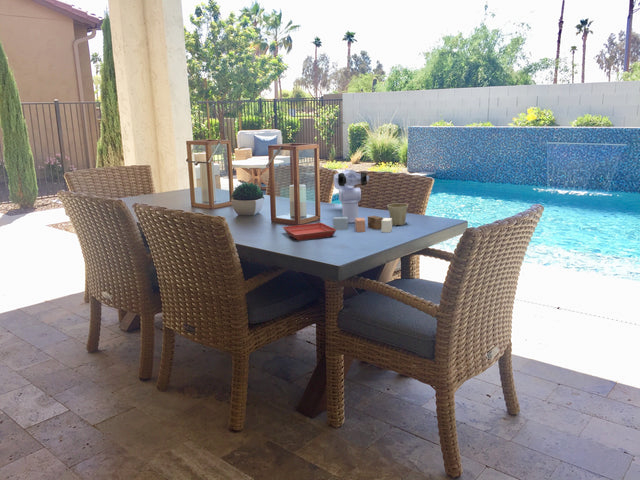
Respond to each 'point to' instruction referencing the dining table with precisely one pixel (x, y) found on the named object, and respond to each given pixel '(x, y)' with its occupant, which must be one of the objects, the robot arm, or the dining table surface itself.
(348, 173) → the robot arm
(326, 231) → the plant saucer
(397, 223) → the flower pot
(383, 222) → the cream brick
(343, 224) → the slate-blue brick
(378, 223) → the walnut brick
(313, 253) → the dining table surface
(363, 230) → the terracotta brick
